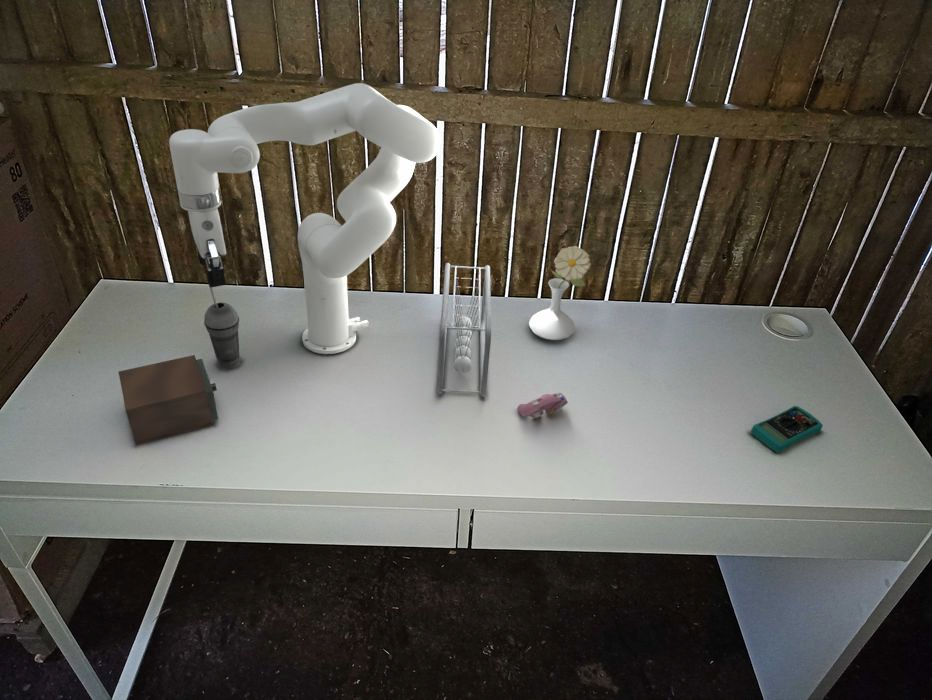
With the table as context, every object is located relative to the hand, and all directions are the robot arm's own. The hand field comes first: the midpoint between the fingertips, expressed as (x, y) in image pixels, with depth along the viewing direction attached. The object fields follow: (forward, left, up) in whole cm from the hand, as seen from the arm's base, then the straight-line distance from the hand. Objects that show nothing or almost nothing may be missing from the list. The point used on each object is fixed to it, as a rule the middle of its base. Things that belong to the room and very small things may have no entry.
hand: (212, 274), depth 148 cm
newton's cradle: (-50, +18, -23) cm, 58 cm away
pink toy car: (-57, +42, -23) cm, 75 cm away
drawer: (+12, +13, -22) cm, 28 cm away
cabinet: (+14, +13, -23) cm, 30 cm away
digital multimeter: (-102, +68, -23) cm, 125 cm away
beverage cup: (0, 0, -23) cm, 23 cm away
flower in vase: (-76, +17, -23) cm, 81 cm away
